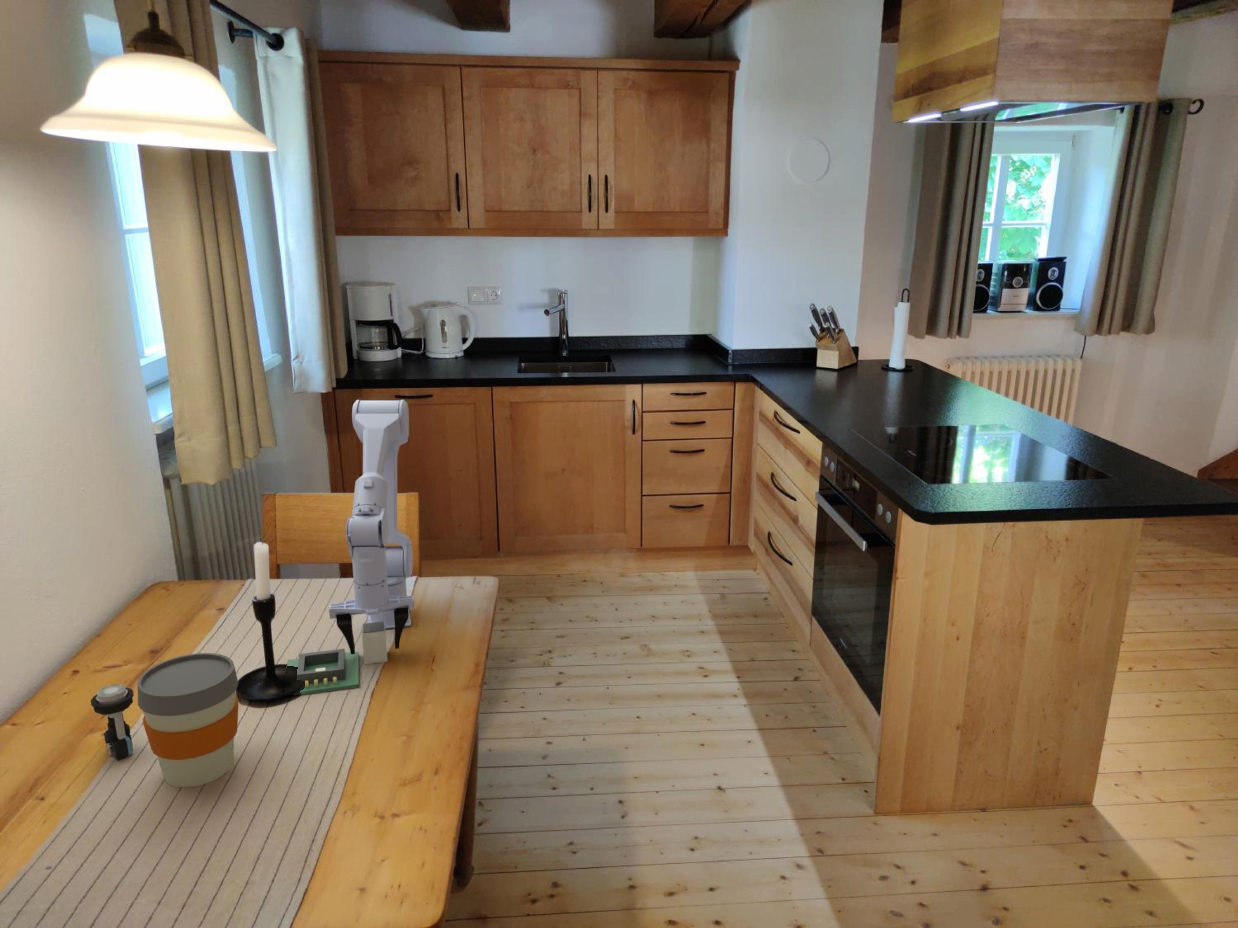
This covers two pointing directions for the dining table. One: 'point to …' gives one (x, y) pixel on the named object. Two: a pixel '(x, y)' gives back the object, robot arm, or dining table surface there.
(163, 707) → the reusable coffee cup
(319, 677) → the header socket
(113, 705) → the push button
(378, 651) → the plug
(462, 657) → the dining table surface
